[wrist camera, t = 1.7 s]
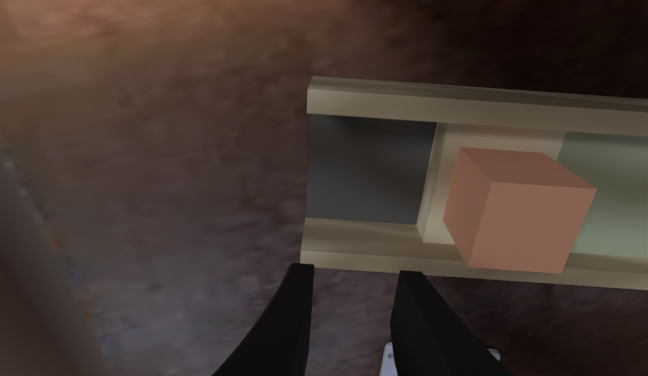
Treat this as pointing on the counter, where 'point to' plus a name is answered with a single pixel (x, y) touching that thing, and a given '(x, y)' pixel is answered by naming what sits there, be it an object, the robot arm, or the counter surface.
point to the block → (515, 210)
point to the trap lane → (438, 167)
